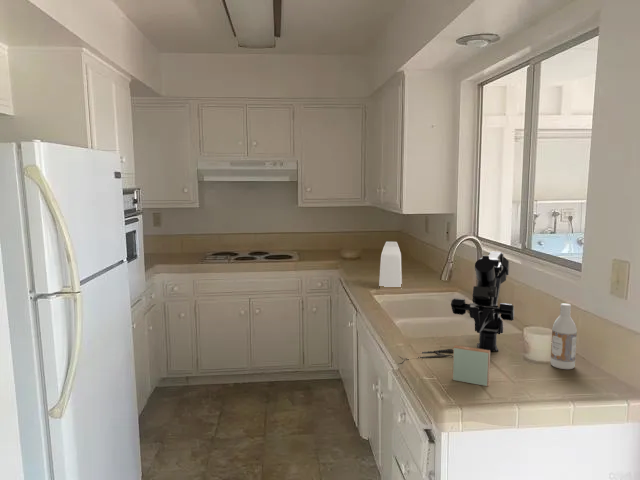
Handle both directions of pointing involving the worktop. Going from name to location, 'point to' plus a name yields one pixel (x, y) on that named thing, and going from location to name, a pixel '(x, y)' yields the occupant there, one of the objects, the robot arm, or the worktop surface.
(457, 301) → the robot arm
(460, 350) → the tile
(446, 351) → the hacksaw
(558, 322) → the bath foam
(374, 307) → the worktop surface
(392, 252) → the milk
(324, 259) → the worktop surface
